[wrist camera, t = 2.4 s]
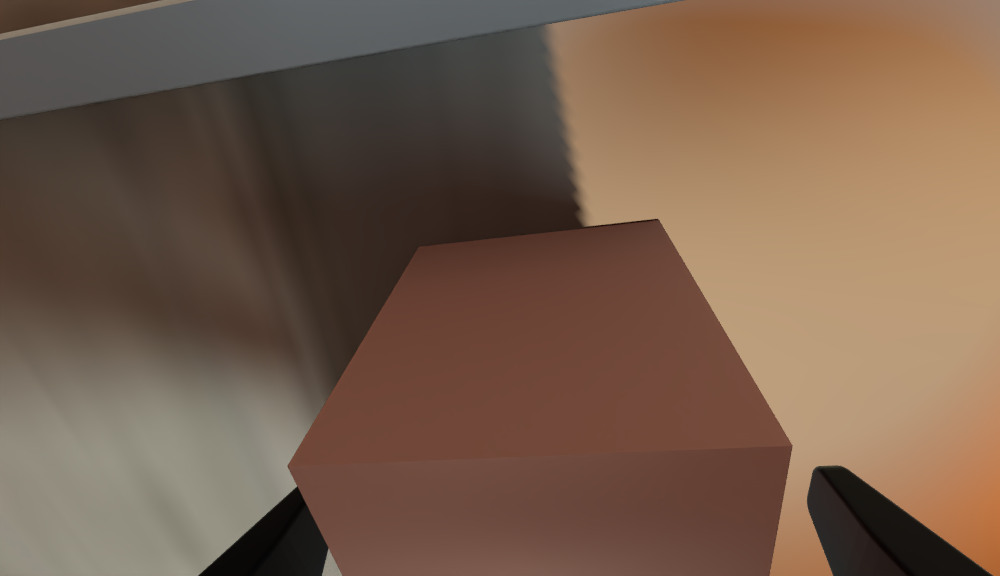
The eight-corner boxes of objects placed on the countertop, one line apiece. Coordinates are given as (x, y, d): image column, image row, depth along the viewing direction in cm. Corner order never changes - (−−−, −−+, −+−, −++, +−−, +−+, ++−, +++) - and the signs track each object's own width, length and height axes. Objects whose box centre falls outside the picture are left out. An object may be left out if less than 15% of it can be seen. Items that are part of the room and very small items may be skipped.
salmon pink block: (658, 218, 10) (792, 445, 4) (657, 477, 13) (733, 779, 8) (413, 245, 10) (274, 466, 5) (474, 483, 14) (428, 761, 9)
